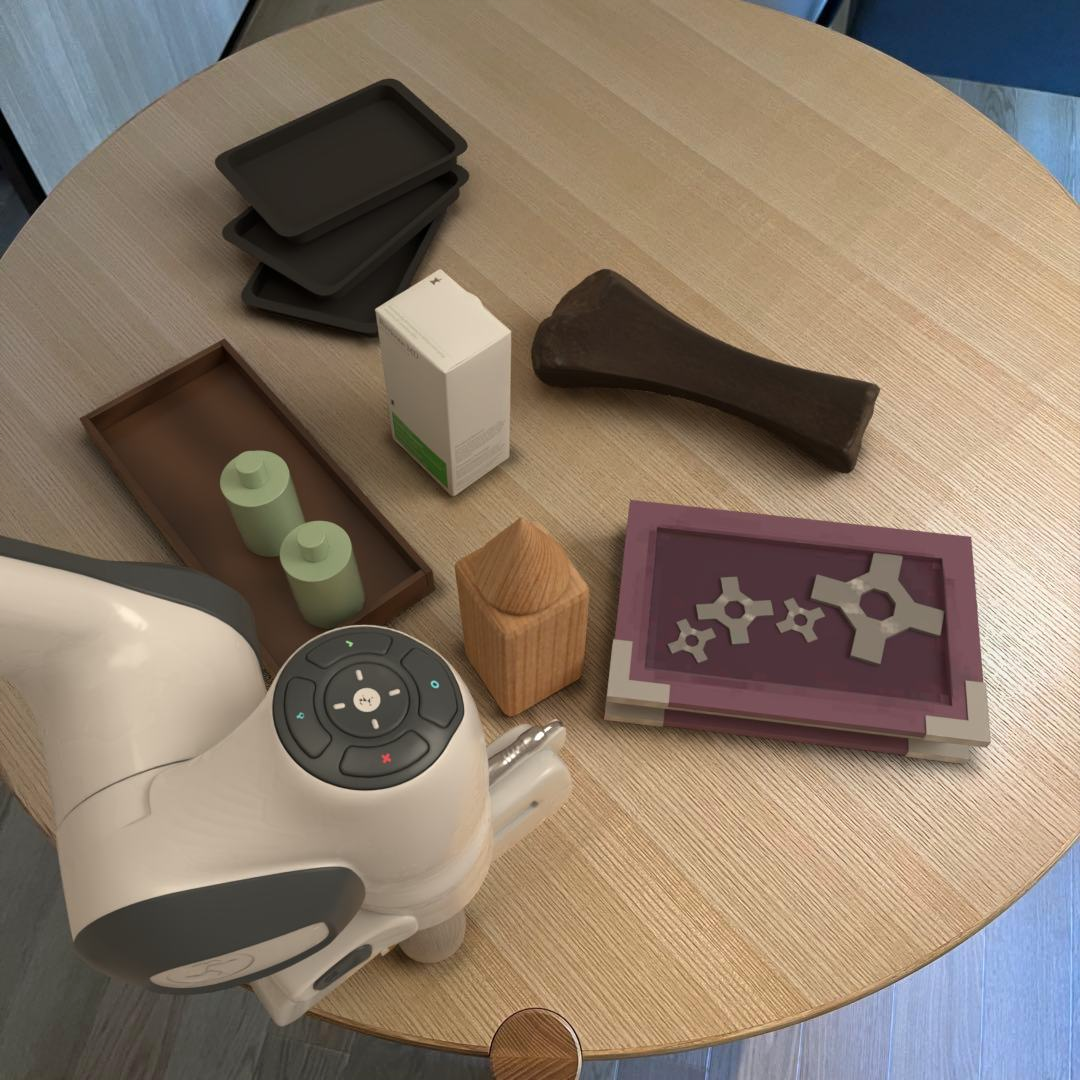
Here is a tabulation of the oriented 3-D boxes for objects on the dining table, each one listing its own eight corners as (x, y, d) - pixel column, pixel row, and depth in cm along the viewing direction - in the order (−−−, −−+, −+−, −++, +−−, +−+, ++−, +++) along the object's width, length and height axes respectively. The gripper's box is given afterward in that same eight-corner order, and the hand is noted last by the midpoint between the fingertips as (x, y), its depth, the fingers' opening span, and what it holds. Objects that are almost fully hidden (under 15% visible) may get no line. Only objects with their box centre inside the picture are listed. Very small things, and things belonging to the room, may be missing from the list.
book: (603, 724, 80) (607, 695, 76) (624, 534, 88) (628, 498, 84) (966, 769, 78) (991, 742, 74) (952, 570, 87) (973, 536, 82)
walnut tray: (284, 693, 81) (276, 676, 79) (91, 440, 93) (78, 418, 91) (435, 589, 86) (432, 569, 83) (232, 361, 98) (224, 337, 95)
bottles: (322, 641, 82) (299, 579, 75) (229, 526, 88) (199, 457, 80) (378, 603, 84) (361, 539, 76) (283, 492, 89) (259, 422, 82)
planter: (435, 979, 70) (422, 940, 61) (380, 933, 71) (360, 889, 63) (481, 920, 72) (475, 874, 63) (426, 876, 73) (414, 826, 65)
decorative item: (508, 723, 80) (500, 583, 63) (461, 652, 83) (442, 500, 66) (586, 678, 82) (598, 530, 65) (538, 610, 85) (538, 452, 68)
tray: (436, 353, 98) (431, 311, 94) (178, 327, 100) (161, 285, 96) (488, 131, 114) (486, 86, 110) (265, 112, 116) (254, 67, 111)
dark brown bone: (529, 384, 99) (828, 506, 96) (516, 358, 89) (851, 494, 86) (577, 271, 99) (877, 390, 96) (569, 232, 89) (906, 364, 86)
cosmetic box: (391, 439, 93) (366, 306, 80) (453, 398, 96) (439, 262, 83) (455, 501, 90) (440, 374, 77) (517, 457, 92) (513, 326, 79)
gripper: (527, 668, 60) (526, 763, 72) (191, 914, 53) (251, 975, 65) (604, 754, 58) (590, 838, 70) (263, 1024, 51) (311, 1067, 62)
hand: (424, 906), depth 67 cm, fingers closed on planter, 4 cm apart
